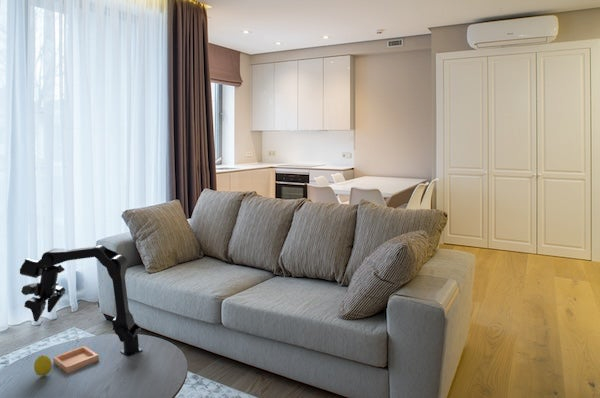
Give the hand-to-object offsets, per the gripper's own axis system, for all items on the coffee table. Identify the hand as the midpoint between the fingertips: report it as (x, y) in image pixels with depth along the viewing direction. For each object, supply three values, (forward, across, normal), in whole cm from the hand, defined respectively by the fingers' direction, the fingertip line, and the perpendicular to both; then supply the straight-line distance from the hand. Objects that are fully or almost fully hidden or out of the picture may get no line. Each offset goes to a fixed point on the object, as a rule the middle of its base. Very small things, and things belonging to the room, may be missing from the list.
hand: (42, 316), depth 176 cm
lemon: (+13, +18, +13) cm, 25 cm away
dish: (+11, +8, +20) cm, 24 cm away
